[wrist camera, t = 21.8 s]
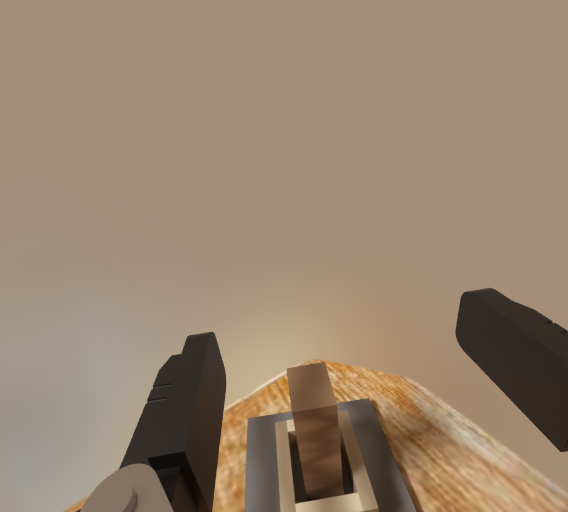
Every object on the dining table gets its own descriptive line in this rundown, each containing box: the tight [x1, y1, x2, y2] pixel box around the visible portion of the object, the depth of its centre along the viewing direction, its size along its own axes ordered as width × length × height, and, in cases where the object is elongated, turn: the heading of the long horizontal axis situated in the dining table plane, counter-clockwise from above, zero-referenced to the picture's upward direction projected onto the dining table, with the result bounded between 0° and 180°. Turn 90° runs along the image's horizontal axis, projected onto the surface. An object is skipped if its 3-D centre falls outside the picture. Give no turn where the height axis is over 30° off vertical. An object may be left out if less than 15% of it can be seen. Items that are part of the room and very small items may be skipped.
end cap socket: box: [245, 398, 417, 512], centre depth 32 cm, size 18×18×4 cm
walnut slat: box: [287, 362, 344, 501], centre depth 30 cm, size 4×5×15 cm
